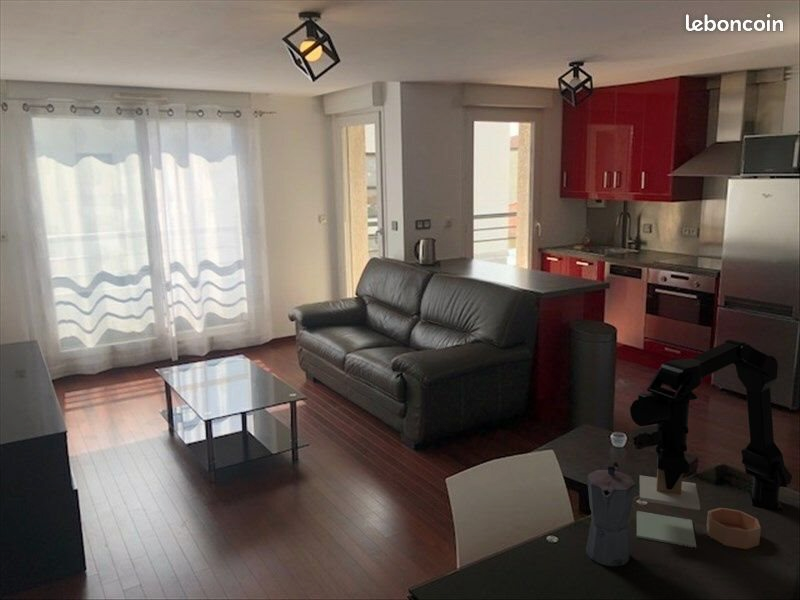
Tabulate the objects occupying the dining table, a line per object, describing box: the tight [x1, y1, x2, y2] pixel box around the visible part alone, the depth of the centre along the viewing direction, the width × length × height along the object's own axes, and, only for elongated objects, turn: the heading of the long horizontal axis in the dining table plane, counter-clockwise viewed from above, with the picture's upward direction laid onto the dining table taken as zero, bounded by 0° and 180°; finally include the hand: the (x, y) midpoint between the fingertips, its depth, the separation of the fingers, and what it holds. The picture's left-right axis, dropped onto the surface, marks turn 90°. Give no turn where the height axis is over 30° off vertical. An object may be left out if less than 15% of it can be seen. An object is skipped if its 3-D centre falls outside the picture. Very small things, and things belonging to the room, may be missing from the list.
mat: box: [636, 510, 697, 549], centre depth 143 cm, size 12×12×1 cm
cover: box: [639, 468, 701, 511], centre depth 141 cm, size 12×12×6 cm
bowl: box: [706, 507, 762, 550], centre depth 140 cm, size 10×10×4 cm
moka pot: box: [585, 462, 637, 567], centre depth 131 cm, size 10×15×20 cm, turn 158°
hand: (668, 486), depth 141 cm, fingers closed on cover, 3 cm apart
